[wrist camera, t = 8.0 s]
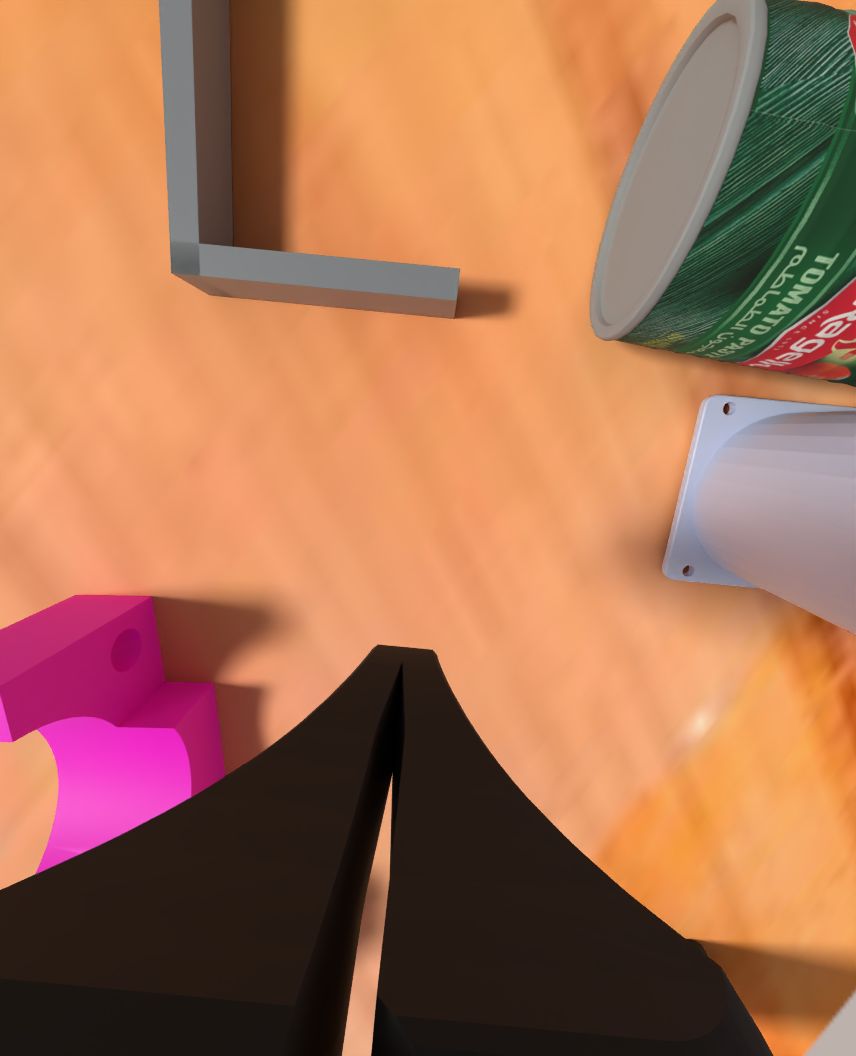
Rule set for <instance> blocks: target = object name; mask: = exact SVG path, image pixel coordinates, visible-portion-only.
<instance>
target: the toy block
mask: <svg viewBox="0 0 856 1056" xmlns="http://www.w3.org/2000/svg"><path fill="white" fill-rule="evenodd" d="M36 729H37V730H38V731H39V732H40V733H41V734H42V735H43V736H44V738H45V739H46V740H47V742H48V743H49V745H50V747H51V749H52V751H53V754H54V756H55V760H56V764H57V769H58V778H59V791H58V803H57V809H56V815H55V819H54V823H53V828H52V831H51V835H50V838H49V841H48V844H47V847H46V850H45V852H44V855H43V858H42V860H41V863H40V865H39V867H38V869H37V872H36V874H37V873H39V872H42V871H44V870H46V869H48V868H50V867H53V866H55V865H57V864H59V863H61V862H64V861H66V860H68V859H70V858H72V857H75V856H77V855H79V854H81V853H83V852H85V851H88V850H90V849H92V848H94V847H96V846H99V845H101V844H103V843H105V842H107V841H109V840H111V839H113V838H115V837H117V836H119V835H121V834H123V833H125V832H127V831H129V830H131V829H133V828H135V827H137V826H139V825H141V824H142V823H144V822H146V821H148V820H150V819H152V818H154V817H156V816H158V815H160V814H162V813H164V812H165V811H167V810H169V809H171V808H173V807H174V806H176V805H178V804H180V803H182V802H183V801H185V800H187V799H189V798H191V797H192V796H194V795H196V794H198V793H199V792H201V791H203V790H204V789H206V788H208V787H209V786H211V785H212V784H214V783H216V782H217V781H219V780H220V779H222V778H223V777H225V776H226V775H225V767H224V759H223V751H222V743H221V735H220V727H219V719H218V711H217V703H216V696H215V688H214V683H202V682H165V677H164V670H163V664H162V657H161V651H160V645H159V638H158V632H157V625H156V619H155V613H154V606H153V600H152V596H108V595H74V596H72V597H70V598H68V599H66V600H64V601H62V602H59V603H57V604H55V605H53V606H51V607H49V608H46V609H44V610H42V611H40V612H38V613H36V614H34V615H31V616H29V617H27V618H25V619H23V620H21V621H18V622H16V623H14V624H12V625H10V626H8V627H6V628H3V629H1V630H0V742H14V741H16V740H17V739H19V738H21V737H23V736H24V735H26V734H28V733H30V732H32V731H34V730H36Z"/></svg>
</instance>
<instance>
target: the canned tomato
mask: <svg viewBox="0 0 856 1056" xmlns="http://www.w3.org/2000/svg"><path fill="white" fill-rule="evenodd" d="M590 320H591V327H592V329H593V331H594V333H595V335H596V336H597V337H599V338H600V339H602V340H605V341H611V340H617V341H622V342H627V343H632V344H637V345H642V346H646V347H650V348H653V349H664V350H669V351H673V352H676V353H684V354H690V355H695V356H697V357H705V358H712V359H716V360H719V361H721V362H733V363H737V364H741V365H743V366H754V367H759V368H762V369H765V370H775V371H780V372H784V373H786V374H796V375H802V376H805V377H808V378H816V379H823V380H827V381H829V382H835V383H844V384H848V385H851V386H854V387H856V11H855V10H840V9H835V8H833V7H831V6H828V5H825V4H822V3H818V2H808V1H799V0H717V1H716V2H715V3H714V4H713V5H712V6H711V7H710V8H709V9H708V11H707V12H706V13H705V15H704V16H703V17H702V19H701V20H700V21H699V23H698V24H697V25H696V27H695V28H694V30H693V31H692V32H691V34H690V36H689V37H688V39H687V41H686V42H685V44H684V45H683V47H682V49H681V50H680V52H679V53H678V55H677V57H676V59H675V60H674V62H673V64H672V66H671V68H670V70H669V71H668V73H667V75H666V77H665V79H664V81H663V83H662V84H661V86H660V88H659V91H658V93H657V95H656V97H655V99H654V101H653V103H652V105H651V107H650V109H649V111H648V113H647V116H646V118H645V120H644V122H643V125H642V127H641V129H640V131H639V134H638V136H637V138H636V141H635V143H634V146H633V148H632V151H631V153H630V156H629V158H628V161H627V163H626V166H625V168H624V171H623V174H622V176H621V179H620V182H619V185H618V188H617V190H616V193H615V196H614V199H613V202H612V205H611V209H610V212H609V215H608V218H607V221H606V225H605V228H604V232H603V235H602V239H601V243H600V247H599V251H598V255H597V260H596V264H595V269H594V275H593V280H592V287H591V296H590Z"/></svg>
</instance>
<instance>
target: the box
mask: <svg viewBox="0 0 856 1056" xmlns="http://www.w3.org/2000/svg"><path fill="white" fill-rule="evenodd" d="M159 13H160V35H161V57H162V79H163V101H164V123H165V144H166V166H167V188H168V210H169V232H170V254H171V273H172V274H174V275H176V276H177V277H179V278H181V279H183V280H184V281H186V282H188V283H189V284H191V285H193V286H195V287H196V288H198V289H200V290H201V291H203V292H205V293H207V294H208V295H214V296H224V297H234V298H245V299H255V300H265V301H276V302H286V303H296V304H307V305H317V306H327V307H338V308H348V309H359V310H369V311H379V312H390V313H400V314H410V315H421V316H431V317H441V318H452V319H454V316H455V309H456V303H457V294H458V284H459V274H460V269H458V268H448V267H437V266H427V265H417V264H406V263H396V262H386V261H375V260H365V259H355V258H344V257H334V256H324V255H313V254H303V253H293V252H282V251H272V250H262V249H251V248H241V247H233V208H232V138H231V68H230V0H159Z"/></svg>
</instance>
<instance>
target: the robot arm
mask: <svg viewBox="0 0 856 1056" xmlns="http://www.w3.org/2000/svg"><path fill="white" fill-rule="evenodd" d="M726 403H728V405H729V406H730V410H729V412H728V413H727V414H724V412H723V407H724V405H725V404H726ZM686 566H689V570H688V572H686V573H684V574H683V569H684V567H686ZM662 572H663V574H664V575H665V576H666V577H668V578H669V579H672V580H678V581H688V582H698V583H709V584H719V585H730V586H740V587H751V588H761V589H763V590H765V591H767V592H769V593H772V594H774V595H776V596H778V597H780V598H782V599H784V600H786V601H788V602H790V603H792V604H794V605H796V606H798V607H800V608H802V609H804V610H806V611H808V612H810V613H812V614H814V615H816V616H818V617H820V618H822V619H824V620H826V621H828V622H830V623H832V624H834V625H836V626H838V627H840V628H842V629H844V630H846V631H848V632H850V633H852V634H854V635H856V408H853V407H842V406H832V405H822V404H811V403H801V402H791V401H780V400H770V399H759V398H749V397H739V396H728V395H712V396H709V397H707V398H705V399H704V400H703V401H702V403H701V405H700V408H699V413H698V417H697V421H696V425H695V430H694V434H693V438H692V442H691V446H690V451H689V455H688V459H687V463H686V468H685V472H684V476H683V480H682V485H681V489H680V493H679V497H678V501H677V506H676V510H675V514H674V518H673V523H672V527H671V531H670V535H669V539H668V544H667V548H666V552H665V556H664V561H663V565H662ZM392 773H393V777H392ZM391 777H392V813H391V850H390V881H389V890H388V899H387V908H386V917H385V926H384V935H383V944H382V953H381V962H380V971H379V980H378V989H377V999H376V1010H375V1021H374V1032H373V1043H372V1053H371V1056H773V1054H772V1052H771V1050H770V1049H769V1047H768V1045H767V1043H766V1041H765V1039H764V1038H763V1036H762V1034H761V1032H760V1030H759V1029H758V1027H757V1026H756V1024H755V1022H754V1021H753V1019H752V1017H751V1016H750V1014H749V1013H748V1011H747V1009H746V1008H745V1006H744V1005H743V1003H742V1001H741V1000H740V998H739V996H738V995H737V993H736V992H735V990H734V988H733V986H732V985H731V983H730V981H729V980H728V978H727V976H726V974H725V973H724V971H723V969H722V968H721V967H720V966H719V965H718V964H716V963H715V962H714V961H713V960H711V959H710V958H709V957H708V956H706V955H705V954H704V953H703V952H701V951H700V950H699V949H697V948H696V947H695V946H694V945H692V944H691V943H690V942H689V941H687V940H686V939H685V938H684V937H682V936H681V935H680V934H679V933H677V932H676V931H675V930H674V929H672V928H671V927H670V926H668V925H667V924H666V923H665V922H663V921H662V920H661V919H660V918H658V917H657V916H656V915H655V914H653V913H652V912H651V911H650V910H648V909H647V908H646V907H645V906H643V905H642V904H641V903H639V902H638V901H637V900H636V899H634V898H633V897H632V896H631V895H629V894H628V893H627V892H626V891H625V890H624V889H622V888H621V887H620V886H619V885H618V884H617V883H616V882H614V881H613V880H612V879H611V878H610V877H609V876H608V875H607V874H605V873H604V872H603V871H602V870H601V869H600V868H599V867H598V866H597V865H595V864H594V863H593V862H592V861H591V860H590V859H589V858H588V857H586V856H585V855H584V854H583V853H582V852H581V851H580V850H579V849H578V848H577V847H576V846H575V845H574V844H572V843H571V842H570V841H569V840H568V839H567V838H566V837H565V836H564V835H563V834H562V833H561V832H560V831H559V830H558V829H557V828H556V827H555V826H554V825H553V824H552V823H551V822H550V821H549V820H548V818H547V817H546V816H545V815H544V814H543V813H542V812H541V811H540V810H539V809H538V808H537V807H536V806H535V805H534V804H533V803H532V802H531V801H530V800H529V799H528V798H527V797H526V795H525V794H524V793H523V792H522V791H521V790H520V789H519V787H518V786H517V785H516V784H515V783H514V782H513V780H512V779H511V778H510V777H509V775H508V774H507V773H506V772H505V770H504V769H503V768H502V767H501V765H500V764H499V763H498V762H497V760H496V759H495V758H494V756H493V755H492V754H491V752H490V751H489V749H488V748H487V747H486V745H485V744H484V742H483V741H482V739H481V738H480V736H479V735H478V733H477V732H476V730H475V729H474V727H473V726H472V724H471V723H470V721H469V720H468V718H467V716H466V715H465V713H464V711H463V710H462V708H461V706H460V704H459V702H458V701H457V699H456V697H455V695H454V694H453V692H452V690H451V688H450V686H449V684H448V682H447V680H446V677H445V675H444V673H443V671H442V668H441V666H440V663H439V661H438V657H437V655H436V653H435V652H434V651H433V650H429V649H418V648H408V647H397V646H387V645H377V646H376V647H374V648H373V649H372V650H371V651H370V653H369V654H368V655H367V657H366V658H365V659H364V660H363V661H362V663H361V664H360V665H359V666H358V667H357V668H356V669H355V670H354V672H353V673H352V674H351V675H350V676H349V677H348V678H347V679H346V680H345V681H344V682H343V683H342V684H341V685H340V686H339V687H338V688H337V689H336V690H335V691H334V692H333V693H332V694H331V695H330V696H329V697H328V698H327V699H326V700H325V701H324V702H323V703H322V704H321V705H320V706H318V707H317V708H316V709H315V710H314V711H313V712H312V713H311V714H309V715H308V716H307V717H306V718H305V719H304V720H303V721H302V722H300V723H299V724H298V725H297V726H296V727H294V728H293V729H292V730H291V731H290V732H288V733H287V734H286V735H284V736H283V737H282V738H281V739H279V740H278V741H277V742H275V743H274V744H273V745H271V746H270V747H269V748H267V749H266V750H265V751H263V752H262V753H260V754H259V755H258V756H256V757H255V758H253V759H252V760H250V761H249V762H247V763H246V764H244V765H242V766H241V767H239V768H238V769H236V770H235V771H233V772H231V773H230V774H228V775H227V776H225V777H223V778H222V779H220V780H219V781H217V782H216V783H214V784H212V785H211V786H209V787H208V788H206V789H204V790H203V791H201V792H199V793H198V794H196V795H194V796H192V797H191V798H189V799H187V800H185V801H183V802H182V803H180V804H178V805H176V806H174V807H173V808H171V809H169V810H167V811H165V812H164V813H162V814H160V815H158V816H156V817H154V818H152V819H150V820H148V821H146V822H144V823H142V824H141V825H139V826H137V827H135V828H133V829H131V830H129V831H127V832H125V833H123V834H121V835H119V836H117V837H115V838H113V839H111V840H109V841H107V842H105V843H103V844H101V845H99V846H96V847H94V848H92V849H90V850H88V851H85V852H83V853H81V854H79V855H77V856H75V857H72V858H70V859H68V860H66V861H64V862H61V863H59V864H57V865H55V866H53V867H50V868H48V869H46V870H44V871H42V872H39V873H37V874H35V875H33V876H31V877H28V878H26V879H24V880H22V881H20V882H17V883H15V884H13V885H11V886H9V887H6V888H4V889H2V890H0V1056H342V1050H343V1043H344V1036H345V1029H346V1022H347V1015H348V1008H349V1001H350V994H351V987H352V980H353V973H354V966H355V959H356V952H357V945H358V938H359V931H360V924H361V918H362V913H363V907H364V902H365V897H366V891H367V886H368V882H369V877H370V873H371V868H372V864H373V859H374V855H375V850H376V846H377V841H378V837H379V832H380V828H381V823H382V819H383V814H384V810H385V805H386V800H387V796H388V791H389V787H390V782H391Z"/></svg>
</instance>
